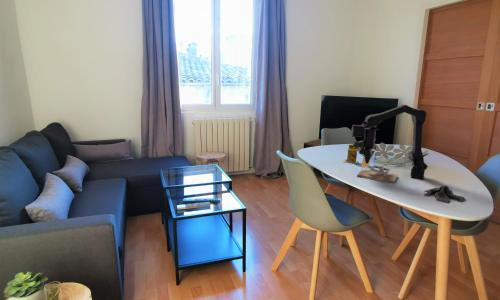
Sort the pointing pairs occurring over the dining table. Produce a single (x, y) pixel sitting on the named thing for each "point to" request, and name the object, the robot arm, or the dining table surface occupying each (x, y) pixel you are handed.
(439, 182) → the dining table surface
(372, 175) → the keeper plate
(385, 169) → the link
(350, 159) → the condiment
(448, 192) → the cloth
